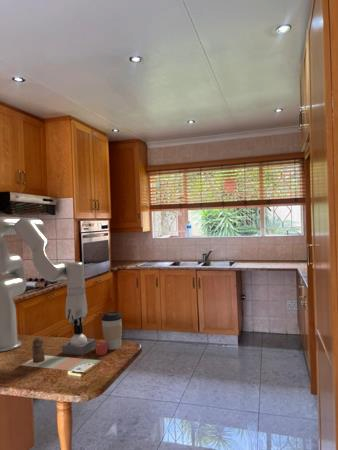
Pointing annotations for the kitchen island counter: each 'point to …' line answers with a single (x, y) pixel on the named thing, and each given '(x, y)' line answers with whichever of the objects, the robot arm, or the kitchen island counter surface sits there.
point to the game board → (61, 363)
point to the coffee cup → (112, 329)
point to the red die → (101, 348)
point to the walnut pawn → (38, 350)
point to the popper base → (78, 347)
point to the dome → (78, 339)
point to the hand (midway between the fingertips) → (78, 333)
